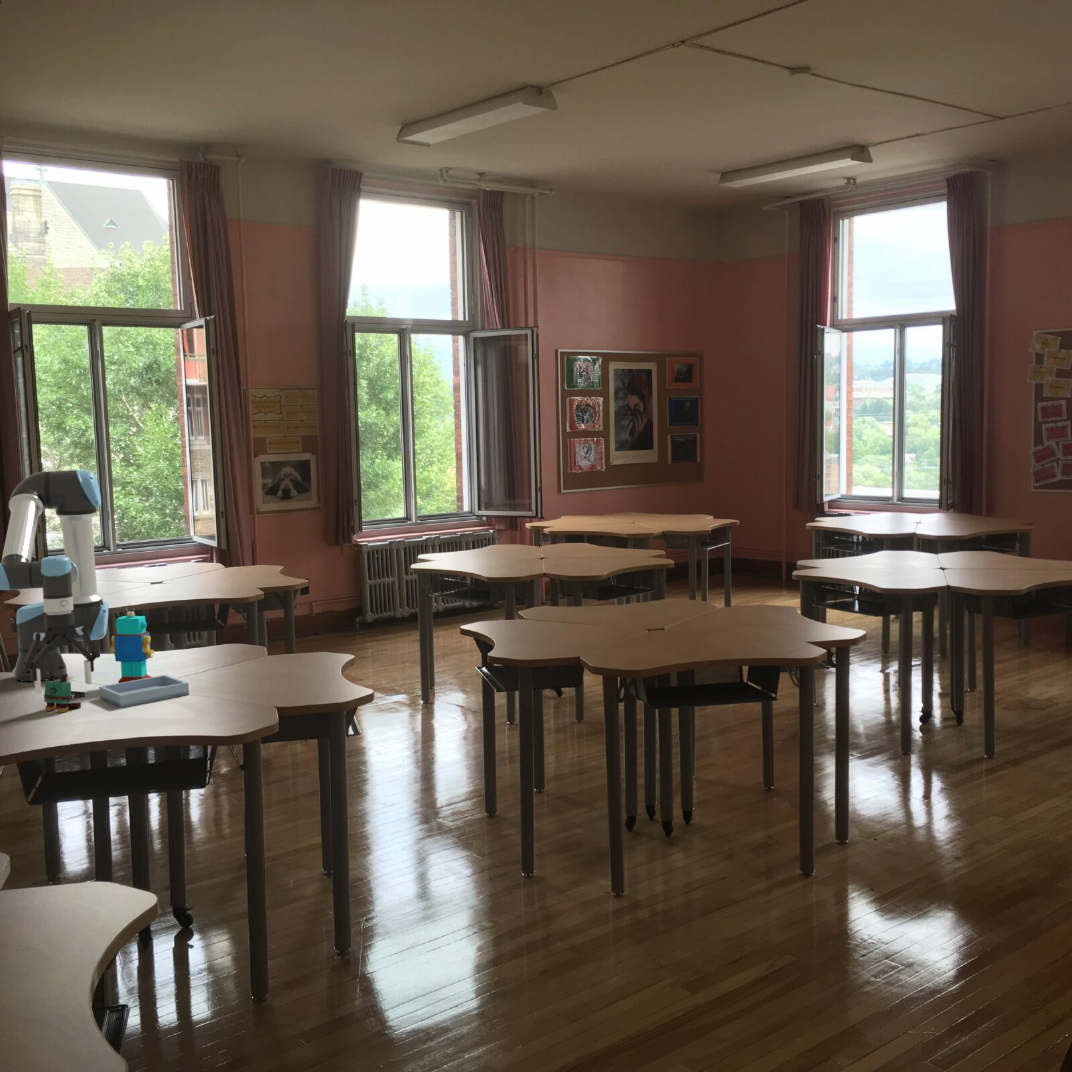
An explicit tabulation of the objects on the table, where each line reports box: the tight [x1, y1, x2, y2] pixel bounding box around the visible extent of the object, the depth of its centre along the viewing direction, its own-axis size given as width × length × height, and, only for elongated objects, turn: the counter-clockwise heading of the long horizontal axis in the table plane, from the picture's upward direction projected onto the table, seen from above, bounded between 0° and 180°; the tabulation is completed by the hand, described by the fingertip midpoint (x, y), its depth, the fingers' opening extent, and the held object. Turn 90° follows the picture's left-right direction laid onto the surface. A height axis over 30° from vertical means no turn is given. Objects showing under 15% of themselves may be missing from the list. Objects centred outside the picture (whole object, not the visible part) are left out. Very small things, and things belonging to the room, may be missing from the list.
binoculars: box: [43, 672, 86, 714], centre depth 302 cm, size 9×11×10 cm
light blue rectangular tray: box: [98, 674, 190, 709], centre depth 314 cm, size 15×20×4 cm
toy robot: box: [110, 603, 155, 683], centre depth 327 cm, size 12×6×25 cm, turn 84°
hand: (63, 688), depth 302 cm, fingers open, 13 cm apart
